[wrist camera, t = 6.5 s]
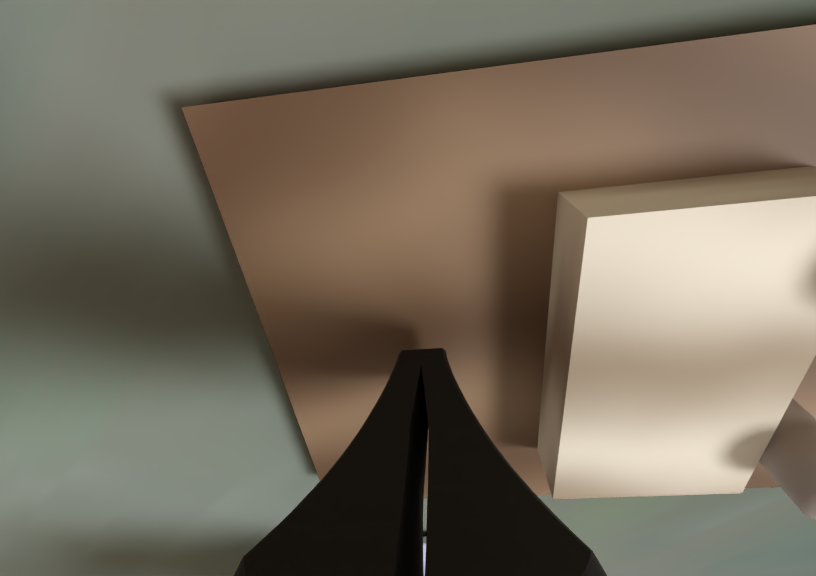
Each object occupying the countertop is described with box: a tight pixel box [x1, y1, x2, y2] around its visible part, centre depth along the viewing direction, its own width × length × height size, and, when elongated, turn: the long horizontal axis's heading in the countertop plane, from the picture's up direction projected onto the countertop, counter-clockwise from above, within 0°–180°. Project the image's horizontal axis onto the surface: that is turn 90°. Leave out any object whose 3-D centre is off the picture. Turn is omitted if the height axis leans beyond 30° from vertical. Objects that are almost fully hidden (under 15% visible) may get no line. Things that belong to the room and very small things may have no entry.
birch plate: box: [537, 166, 816, 499], centre depth 11 cm, size 10×6×2 cm, turn 7°
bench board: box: [181, 24, 816, 519], centre depth 11 cm, size 16×20×5 cm
